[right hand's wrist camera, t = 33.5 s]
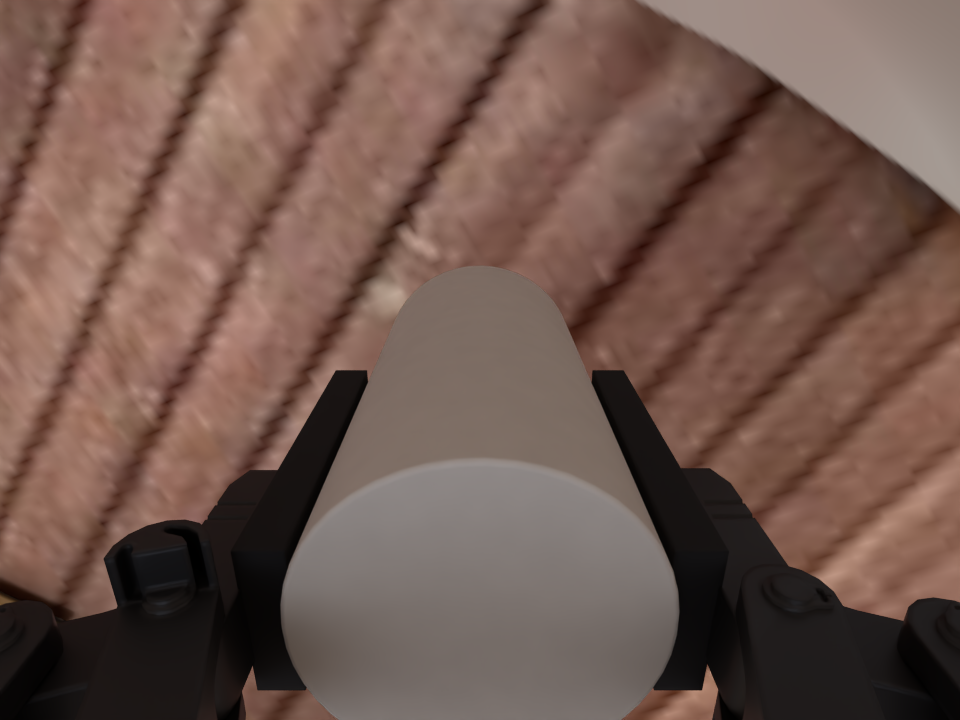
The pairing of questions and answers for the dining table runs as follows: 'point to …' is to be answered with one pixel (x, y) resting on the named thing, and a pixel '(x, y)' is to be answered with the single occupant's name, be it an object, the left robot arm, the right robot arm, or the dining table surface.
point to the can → (479, 529)
